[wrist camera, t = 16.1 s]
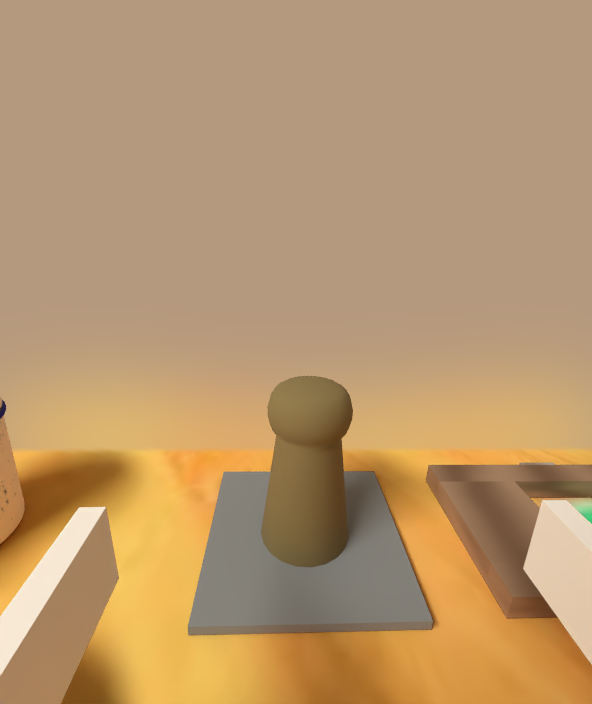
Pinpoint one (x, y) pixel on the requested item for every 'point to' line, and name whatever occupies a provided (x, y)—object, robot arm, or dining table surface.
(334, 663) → the dining table surface
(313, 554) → the brown tall rounded piece
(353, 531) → the gray mat
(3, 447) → the teacup with lid
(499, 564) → the walnut holder
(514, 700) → the dining table surface
